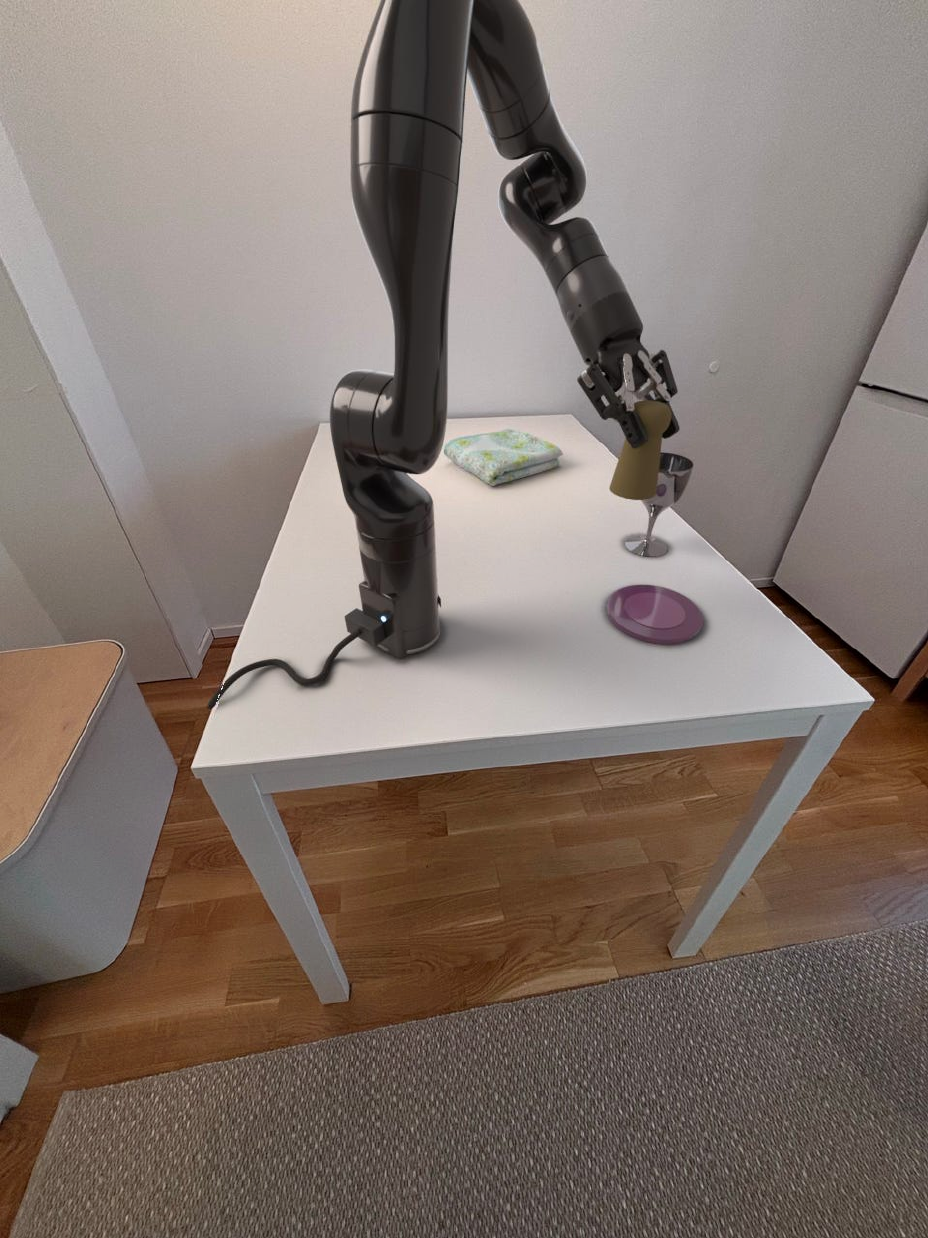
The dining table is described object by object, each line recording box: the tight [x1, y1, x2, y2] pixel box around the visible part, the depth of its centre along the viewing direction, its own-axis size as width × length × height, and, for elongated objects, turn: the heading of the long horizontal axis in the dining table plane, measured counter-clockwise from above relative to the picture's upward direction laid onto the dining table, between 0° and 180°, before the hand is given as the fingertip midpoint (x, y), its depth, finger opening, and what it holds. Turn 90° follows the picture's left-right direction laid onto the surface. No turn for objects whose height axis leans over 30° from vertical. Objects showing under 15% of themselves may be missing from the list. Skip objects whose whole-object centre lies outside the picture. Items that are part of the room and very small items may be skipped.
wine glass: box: [624, 451, 694, 558], centre depth 85 cm, size 8×8×15 cm
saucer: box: [606, 584, 704, 645], centre depth 74 cm, size 13×13×1 cm
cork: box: [608, 400, 671, 501], centre depth 64 cm, size 6×6×11 cm
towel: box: [443, 428, 564, 487], centre depth 116 cm, size 18×21×5 cm
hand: (656, 439), depth 62 cm, fingers closed on cork, 5 cm apart
